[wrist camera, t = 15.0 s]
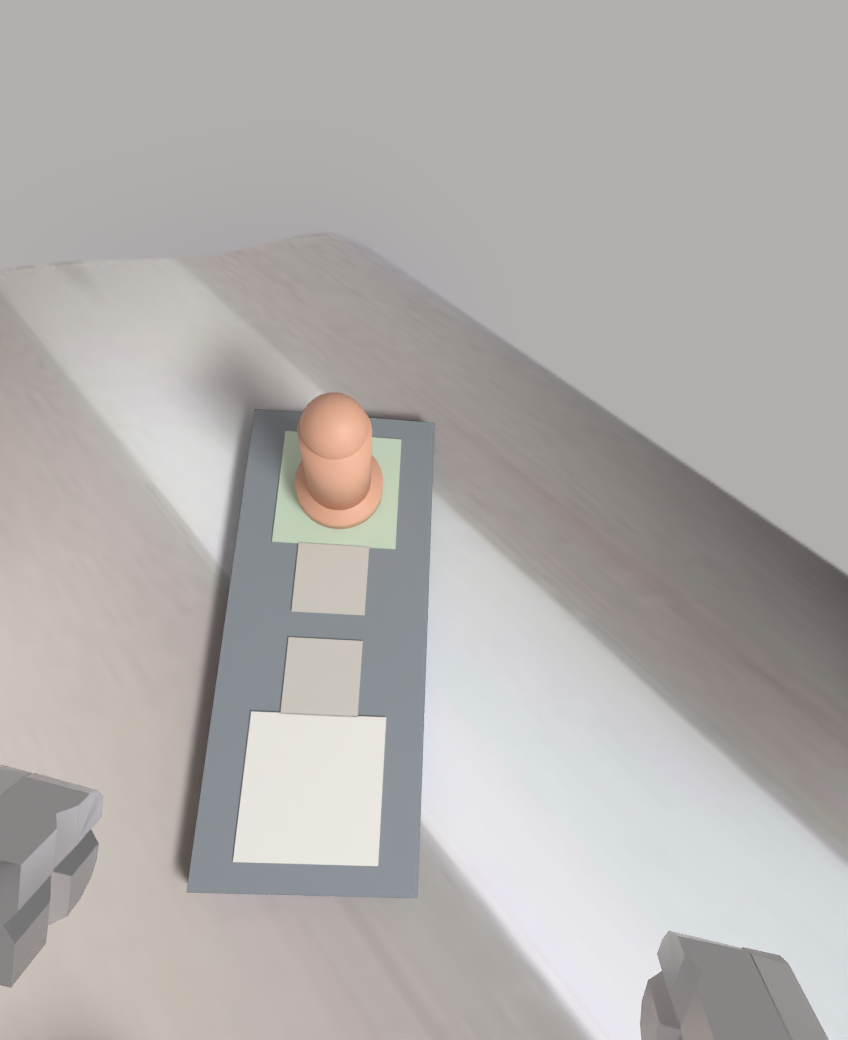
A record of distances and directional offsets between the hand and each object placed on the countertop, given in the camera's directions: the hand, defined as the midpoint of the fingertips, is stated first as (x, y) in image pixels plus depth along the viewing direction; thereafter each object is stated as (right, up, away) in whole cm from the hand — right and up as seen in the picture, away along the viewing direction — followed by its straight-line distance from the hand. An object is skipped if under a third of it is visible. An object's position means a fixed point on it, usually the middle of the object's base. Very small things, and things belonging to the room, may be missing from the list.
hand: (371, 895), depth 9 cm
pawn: (-4, +7, +30) cm, 31 cm away
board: (-5, -1, +28) cm, 29 cm away
